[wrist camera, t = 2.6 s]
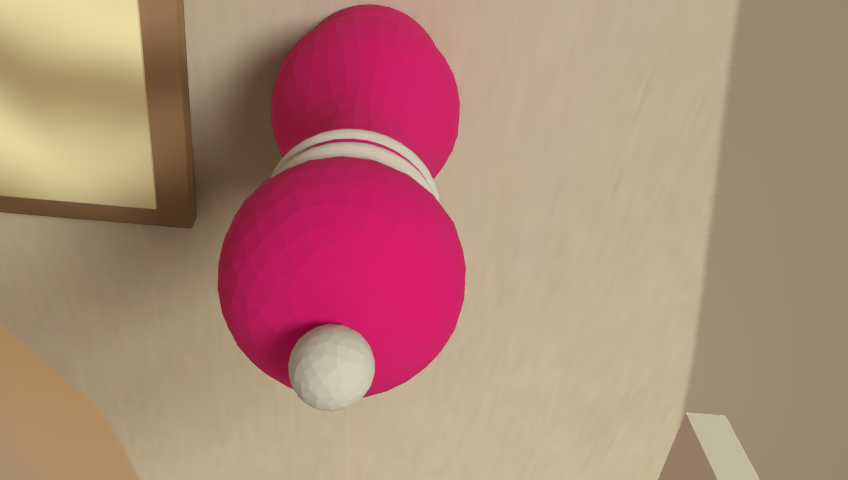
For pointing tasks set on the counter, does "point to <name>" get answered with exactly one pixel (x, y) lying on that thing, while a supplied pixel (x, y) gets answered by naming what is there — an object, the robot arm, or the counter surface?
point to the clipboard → (96, 111)
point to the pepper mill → (350, 215)
